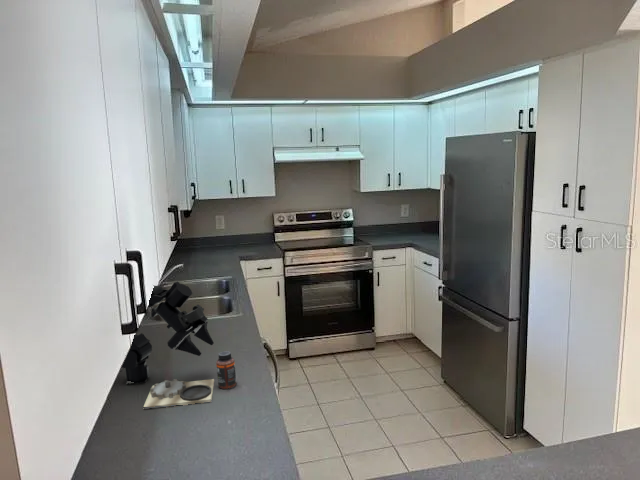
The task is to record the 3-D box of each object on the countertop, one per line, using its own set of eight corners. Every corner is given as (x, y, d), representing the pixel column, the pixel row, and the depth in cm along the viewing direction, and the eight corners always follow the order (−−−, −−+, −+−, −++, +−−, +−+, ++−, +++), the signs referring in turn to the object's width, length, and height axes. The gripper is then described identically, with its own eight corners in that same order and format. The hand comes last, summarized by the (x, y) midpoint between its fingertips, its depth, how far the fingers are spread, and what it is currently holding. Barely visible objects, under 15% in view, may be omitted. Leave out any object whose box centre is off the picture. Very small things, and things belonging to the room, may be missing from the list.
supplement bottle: (239, 382, 161) (237, 350, 159) (231, 390, 155) (229, 357, 154) (223, 381, 163) (220, 349, 161) (214, 389, 157) (212, 356, 155)
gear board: (143, 409, 145) (142, 397, 145) (152, 388, 159) (151, 377, 159) (211, 402, 148) (210, 390, 147) (214, 381, 162) (213, 370, 162)
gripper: (172, 308, 148) (209, 343, 147) (200, 292, 166) (232, 323, 165) (152, 332, 151) (187, 367, 150) (181, 314, 169) (213, 345, 168)
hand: (206, 349), depth 158 cm, fingers open, 9 cm apart
